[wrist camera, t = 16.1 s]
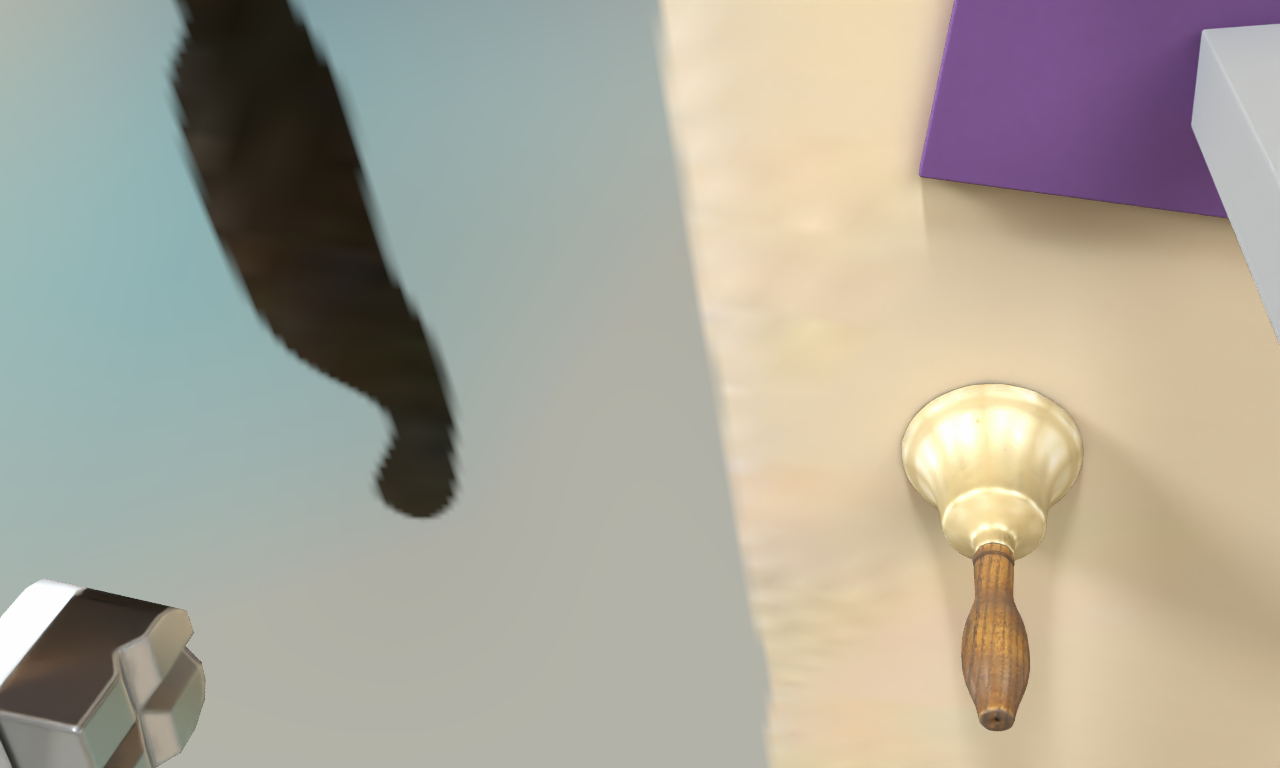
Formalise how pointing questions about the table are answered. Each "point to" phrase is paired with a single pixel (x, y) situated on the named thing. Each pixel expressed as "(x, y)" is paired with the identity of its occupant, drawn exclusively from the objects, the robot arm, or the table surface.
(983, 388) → the hand bell
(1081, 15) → the mat
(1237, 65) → the vintage mobile phone
